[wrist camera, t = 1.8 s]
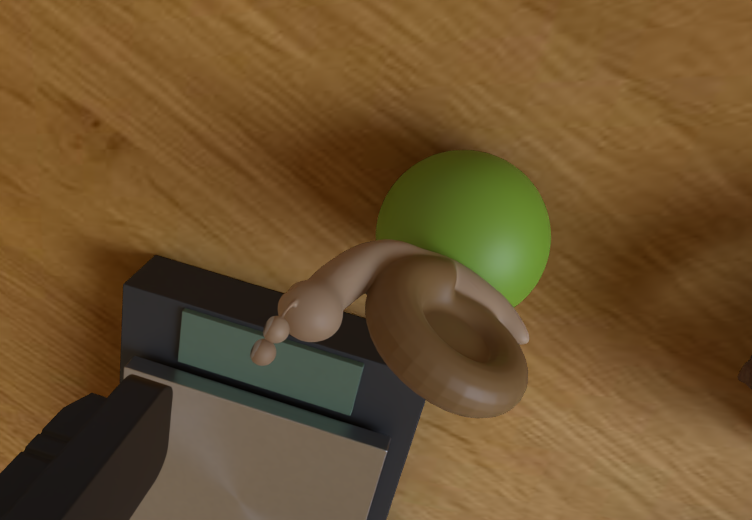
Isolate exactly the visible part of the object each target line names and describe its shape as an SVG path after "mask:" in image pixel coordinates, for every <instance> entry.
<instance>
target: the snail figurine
mask: <svg viewBox="0 0 752 520" xmlns="http://www.w3.org/2000/svg"><path fill="white" fill-rule="evenodd" d="M550 244H551V229H550V221H549V217H548V213H547V209H546V207H545V204H544V202H543V199H542V197H541V196H540V194H539V192H538V190H537V189H536V187H535V186H534V185H533V183H532V182H531V181H530V180H529V179H528V177H527V176H526V175H525V174H524V173H522V172H521V171H520V170H519V169H518V168H516V167H515V166H514V165H512V164H511V163H509V162H507V161H506V160H504V159H502V158H499V157H497V156H495V155H492V154H488V153H485V152H480V151H474V150H453V151H447V152H442V153H439V154H436V155H433V156H430V157H428V158H426V159H424V160H422V161H420V162H418V163H417V164H415V165H413V166H412V167H411V168H409V169H408V170H407V171H406V172H405V173H404V174H402V175H401V176H400V177H399V179H398V180H397V181H396V182H395V183H394V185H393V186H392V187H391V189H390V190H389V192H388V194H387V195H386V197H385V199H384V201H383V204H382V206H381V209H380V212H379V215H378V220H377V225H376V240H375V241H370V242H366V243H362V244H359V245H357V246H354V247H352V248H350V249H348V250H346V251H344V252H343V253H341V254H339V255H338V256H336V257H335V258H333V259H332V260H330V261H329V262H328V263H326V264H325V265H323V266H322V267H321V268H320V269H318V270H317V271H316V272H315V273H314V274H313V275H312V276H311V277H310V278H309V279H308V280H305V281H300V282H297V283H295V284H294V285H292V286H291V288H290V289H289V291H288V292H287V293H285V294H283V295H282V296H281V298H280V300H279V303H278V315H279V316H272V317H271V318H269V319H268V321H267V322H266V324H265V326H264V329H263V336H264V337H265V339H259V340H257V341H256V342H255V344H254V345H253V347H252V349H251V353H250V357H251V360H252V361H253V362H254V363H255V364H257V365H260V366H265V365H268V364H270V363H271V362H272V361H273V360H274V359H275V357H276V347H275V345H274V344H273V343H280V342H283V341H284V340H285V339H286V338H287V337H288V335H289V334H290V335H292V336H293V337H295V338H297V339H299V340H301V341H305V342H318V341H323V340H325V339H328V338H329V337H331V336H332V335H333V334H335V333H336V331H337V330H338V329H339V327H340V325H341V322H342V318H343V310H344V309H345V308H346V307H347V306H349V305H350V304H351V303H352V302H353V301H355V300H356V299H357V298H359V297H360V296H361V295H363V294H367V298H366V305H365V312H366V322H367V326H368V330H369V333H370V337H371V339H372V341H373V343H374V345H375V347H376V349H377V351H378V353H379V354H380V356H381V357H382V359H383V360H384V362H385V363H386V364H387V366H388V367H389V368H390V369H391V370H392V371H393V373H394V374H395V375H396V376H397V377H398V378H399V379H400V380H401V381H402V382H403V383H404V384H405V385H407V386H408V387H409V388H410V389H411V390H412V391H414V392H415V393H416V394H418V395H419V396H421V397H422V398H424V399H425V400H427V401H428V402H430V403H432V404H434V405H436V406H438V407H440V408H442V409H444V410H446V411H448V412H451V413H454V414H457V415H460V416H464V417H471V418H490V417H496V416H499V415H502V414H504V413H506V412H508V411H510V410H511V409H512V408H514V407H515V406H516V405H517V404H518V403H519V402H520V400H521V399H522V397H523V395H524V393H525V391H526V388H527V384H528V367H527V363H526V359H525V356H524V354H523V352H522V349H521V347H520V346H519V344H526V343H528V341H529V334H528V331H527V329H526V326H525V324H524V323H523V321H522V319H521V318H520V316H519V315H518V313H517V312H516V310H515V309H514V307H515V306H517V305H518V304H519V303H520V302H521V301H523V300H524V299H525V298H526V297H527V296H528V295H529V293H530V292H531V291H532V290H533V288H534V287H535V286H536V284H537V283H538V281H539V279H540V277H541V276H542V274H543V271H544V269H545V266H546V264H547V260H548V256H549V252H550Z"/></svg>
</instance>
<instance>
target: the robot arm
mask: <svg viewBox="0 0 752 520" xmlns="http://www.w3.org/2000/svg"><path fill="white" fill-rule="evenodd" d="M172 399H173V390H172V387H171V386H168V385H165V384H162V383H159V382H156V381H153V380H150V379H147V378H143V377H140V376H137V375H134V374H130V375H128V376H127V377H126V378H125V379H124V380H123V381H122V382H121V383H120V384H119V385H118V386H117V387H116V389H115V390H114V391H113V392H112V393H111V394H110V395H109V396H108V398H106V397H103V396H100V395H97V394H94V393H90V394H89V395H87V396H85V397H83V398H81V399H79V400H77V401H75V402H73V403H71V404H70V405H68V406H66V407H64V408H63V409H62V410H61V411H60V412H59V413H58V414H57V415H56V416H55V417H54V418H53V419H52V420H51V421H50V422H49V423H48V424H47V425H46V426H45V427H44V428H43V430H42V433H41V434H38V435H37V436H36V437H35V438H34V439H33V440H32V441H31V442H30V443H29V444H28V445H27V446H26V448H25V450H24V452H20V453H19V454H18V456H17V457H16V458H15V459H14V460H13V461H12V462H11V463H10V464H9V465H8V466H7V467H6V468H5V469H4V470H3V471H2V472H1V473H0V520H130V518H131V517H132V515H133V514H134V512H135V511H136V509H137V508H138V506H139V505H140V503H141V502H142V500H143V499H144V497H145V496H146V494H147V493H148V491H149V490H150V488H151V487H152V485H153V484H154V482H155V481H156V479H157V477H158V475H159V473H160V471H161V469H162V466H163V464H164V461H165V458H166V455H167V450H168V443H169V432H170V421H171V410H172Z"/></svg>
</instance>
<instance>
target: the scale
mask: <svg viewBox="0 0 752 520" xmlns="http://www.w3.org/2000/svg"><path fill="white" fill-rule="evenodd" d="M282 295H283V294H282V293H279V292H276V291H272V290H269V289H266V288H263V287H259V286H256V285H253V284H249V283H246V282H243V281H240V280H236V279H233V278H230V277H226V276H223V275H220V274H217V273H213V272H210V271H207V270H203V269H200V268H197V267H194V266H190V265H187V264H184V263H180V262H177V261H174V260H171V259H167V258H164V257H161V256H157V255H155V256H154V257H153V258H152V259H150V260H149V261H148V262H147V263H146V264H145V265H144V266H143V267H142V268H141V269H139V270H138V271H137V272H136V273H135V274H134V275H133V276H132V277H131V278H130V279H129V280H127V281H126V282H125V283H124V284H123V306H122V334H121V363H120V383H121V382H122V381H123V380H124V367H125V366H126V364H127V363H128V362H129V361H130V360H131V359H132V358H133V357H134V356H137V357H140V358H144V359H147V360H150V361H153V362H156V363H159V364H162V365H166V366H169V367H172V368H175V369H178V370H181V371H184V372H188V373H191V374H194V375H197V376H200V377H203V378H206V379H210V380H213V381H216V382H219V383H222V384H225V385H229V386H232V387H235V388H238V389H241V390H244V391H247V392H251V393H254V394H257V395H260V396H263V397H266V398H269V399H273V400H276V401H279V402H282V403H285V404H288V405H291V406H295V407H298V408H301V409H304V410H307V411H310V412H313V413H317V414H320V415H323V416H326V417H329V418H332V419H336V420H339V421H342V422H345V423H348V424H351V425H354V426H358V427H361V428H364V429H367V430H370V431H373V432H376V433H380V434H383V435H386V436H389V437H391V440H390V444H389V448H388V451H387V455H386V458H385V461H384V464H383V468H382V471H381V474H380V477H379V481H378V484H377V487H376V490H375V494H374V497H373V500H372V503H371V507H370V510H369V513H368V516H367V520H386V519H387V516H388V512H389V509H390V506H391V503H392V500H393V497H394V494H395V491H396V488H397V485H398V482H399V479H400V476H401V473H402V470H403V467H404V464H405V461H406V458H407V455H408V452H409V449H410V446H411V443H412V440H413V436H414V433H415V430H416V427H417V424H418V421H419V418H420V415H421V412H422V409H423V406H424V403H425V399H424V398H422V397H421V396H419V395H418V394H416V393H415V392H414V391H412V390H411V389H410V388H409V387H408V386H407V385H405V384H404V383H403V382H402V381H401V380H400V379H399V378H398V377H397V376H396V375H395V374H394V373H393V371H392V370H391V369H390V368H389V367H388V366H387V364H386V363H385V362H384V360H383V359H382V357H381V356H380V354H379V353H378V351H377V349H376V347H375V345H374V343H373V341H372V339H371V337H370V333H369V330H368V326H367V322H366V319H365V318H361V317H358V316H355V315H351V314H348V313H345V312H343V318H342V322H341V325H340V327H339V329H338V330H337V331H336V333H335V334H333V335H332V336H331V337H329V338H328V339H325V340H323V341H318V342H305V341H301V340H299V339H297V338H295V337H293V336H292V335H290V334H289V335H288V337H287V338H286V339H285V340H284V341H283V342H280V343H273V344H274V345H275V347H276V357H275V359H274V360H273V361H272V362H271V363H270V364H268V365H265V366H260V365H257V364H255V363H254V362H253V361H252V360H251V357H250V353H251V349H252V347H253V345H254V344H255V342H256V341H257V340H259V339H265V337H264V336H263V329H264V326H265V324H266V322H267V321H268V319H269V318H271V317H272V316H279V315H278V303H279V300H280V298H281V296H282Z"/></svg>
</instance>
